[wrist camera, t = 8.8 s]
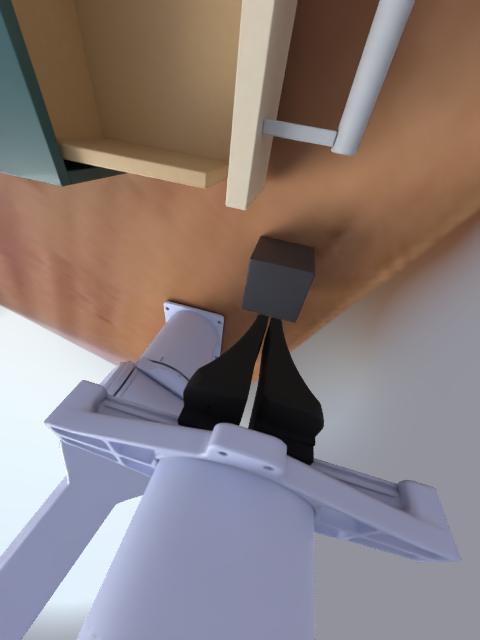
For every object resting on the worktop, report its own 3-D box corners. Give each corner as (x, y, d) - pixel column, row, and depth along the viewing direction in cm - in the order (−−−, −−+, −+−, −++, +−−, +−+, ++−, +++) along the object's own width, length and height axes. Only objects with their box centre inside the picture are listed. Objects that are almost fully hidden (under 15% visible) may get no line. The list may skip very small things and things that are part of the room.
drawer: (463, -191, 8) (708, -706, 3) (325, 201, 17) (332, 229, 12) (30, -209, 10) (-261, -566, 5) (108, 157, 18) (33, 165, 13)
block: (297, 293, 23) (295, 323, 20) (251, 281, 24) (241, 309, 20) (314, 247, 20) (315, 273, 16) (260, 235, 20) (250, 258, 17)
